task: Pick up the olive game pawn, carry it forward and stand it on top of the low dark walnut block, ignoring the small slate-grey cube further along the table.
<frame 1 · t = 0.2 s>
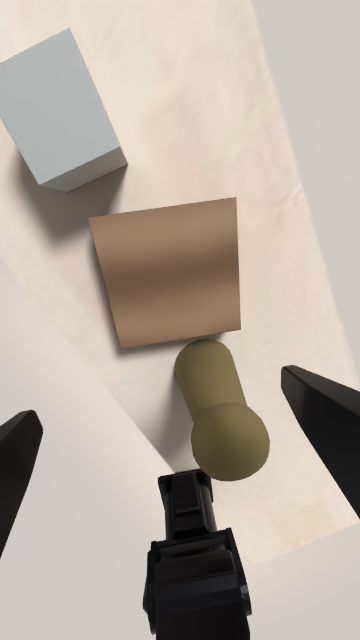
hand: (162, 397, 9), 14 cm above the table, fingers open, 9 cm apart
slate cube: (79, 140, 17), on the table
olive game pawn: (203, 364, 26), on the table
walnut block: (170, 271, 21), on the table
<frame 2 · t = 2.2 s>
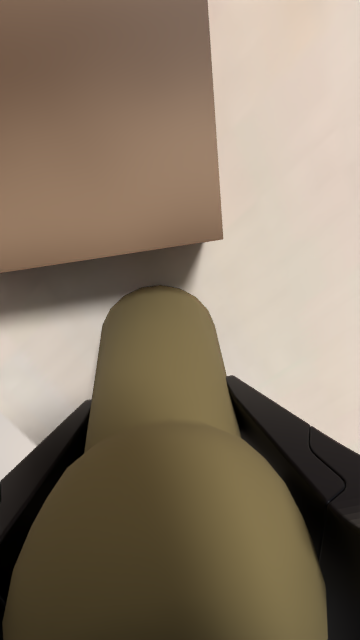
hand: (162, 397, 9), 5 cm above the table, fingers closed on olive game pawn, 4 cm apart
olive game pawn: (159, 339, 13), on the table, touching gripper
walnut block: (62, 115, 9), on the table
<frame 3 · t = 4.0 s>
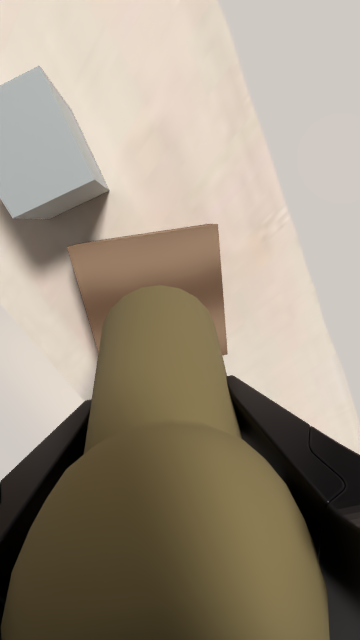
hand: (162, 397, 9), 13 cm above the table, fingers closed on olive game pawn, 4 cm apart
slate cube: (59, 168, 17), on the table
olive game pawn: (159, 339, 13), point 8 cm above the table, touching gripper
walnut block: (156, 295, 21), on the table
when the fingers open (8 cm above the table, at t = 5.9 s): olive game pawn stays where it is, resting on walnut block.
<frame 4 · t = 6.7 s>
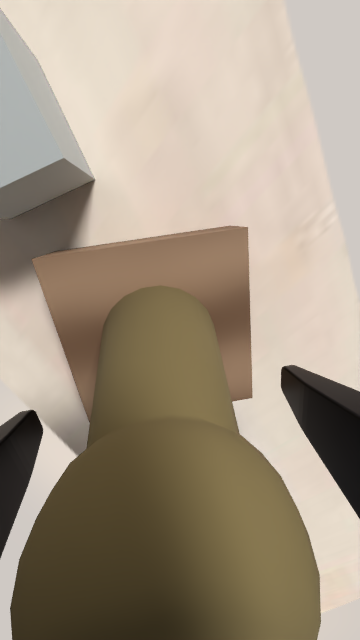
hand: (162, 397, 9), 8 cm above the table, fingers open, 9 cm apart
slate cube: (23, 147, 12), on the table
olive game pawn: (159, 338, 14), point 3 cm above the table, touching walnut block
walnut block: (158, 318, 16), on the table
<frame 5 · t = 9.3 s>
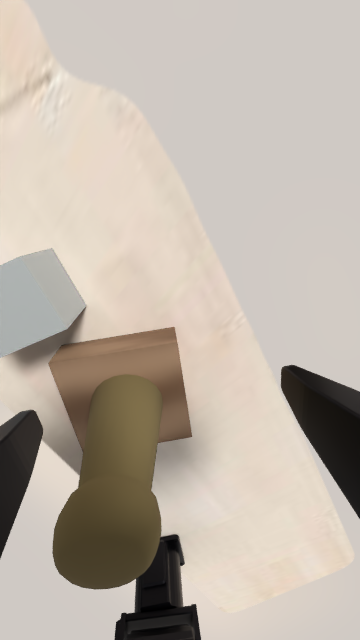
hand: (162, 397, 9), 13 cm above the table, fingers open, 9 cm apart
slate cube: (42, 290, 20), on the table
olive game pawn: (127, 402, 21), point 3 cm above the table, touching walnut block
walnut block: (130, 382, 24), on the table
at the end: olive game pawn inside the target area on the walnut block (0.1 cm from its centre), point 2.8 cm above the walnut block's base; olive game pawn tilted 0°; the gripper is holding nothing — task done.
